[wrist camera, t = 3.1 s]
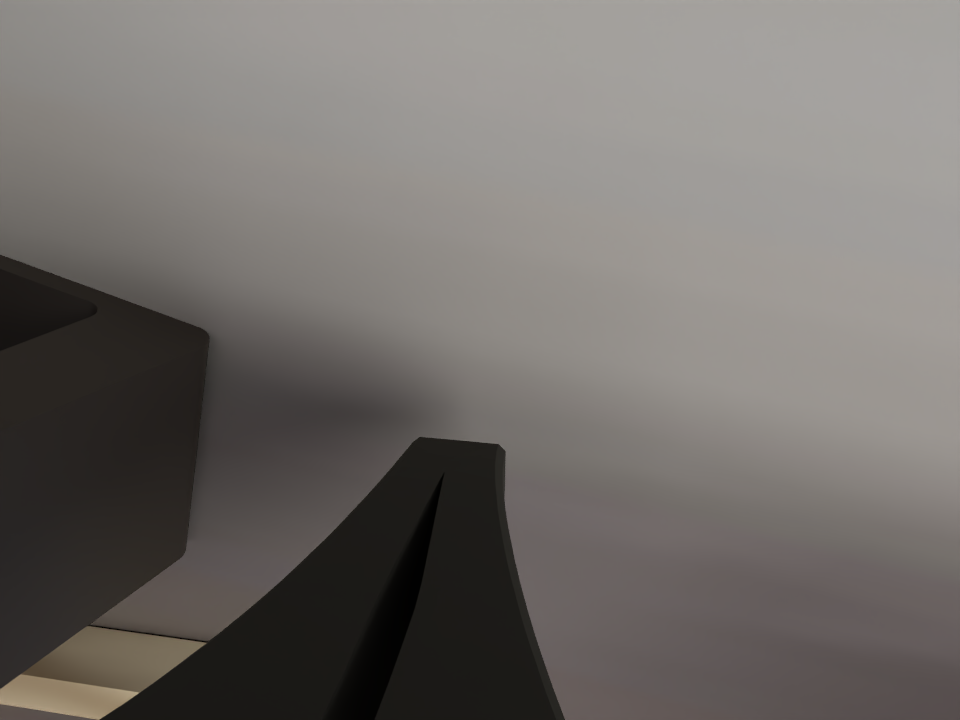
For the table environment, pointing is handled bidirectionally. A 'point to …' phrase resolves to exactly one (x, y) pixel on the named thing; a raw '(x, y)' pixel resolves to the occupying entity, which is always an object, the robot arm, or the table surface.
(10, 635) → the phone stand
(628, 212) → the table surface
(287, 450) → the table surface
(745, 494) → the table surface
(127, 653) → the bar
